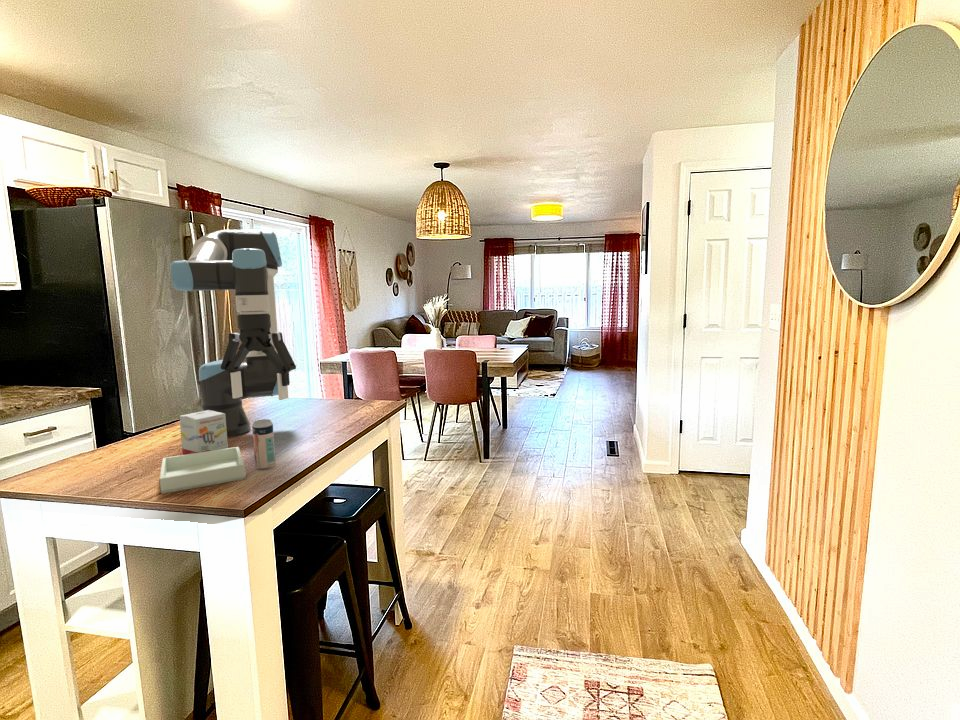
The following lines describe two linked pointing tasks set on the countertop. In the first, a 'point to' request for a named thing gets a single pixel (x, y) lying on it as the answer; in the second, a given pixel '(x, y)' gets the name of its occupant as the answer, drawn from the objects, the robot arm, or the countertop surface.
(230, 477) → the bin
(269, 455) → the beer can
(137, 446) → the countertop surface
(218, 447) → the ink box
